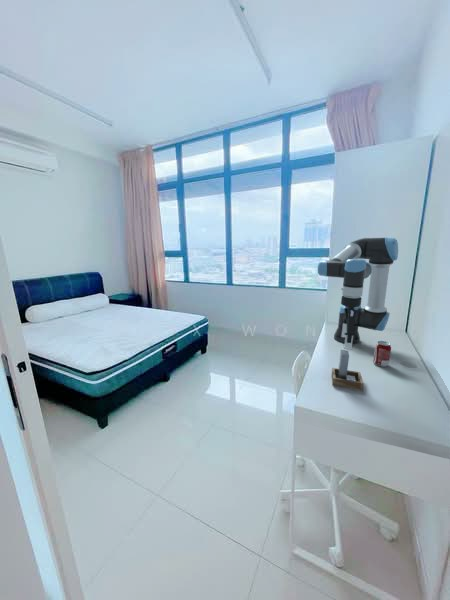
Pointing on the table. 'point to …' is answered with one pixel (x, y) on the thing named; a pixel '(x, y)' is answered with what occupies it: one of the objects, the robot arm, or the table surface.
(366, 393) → the table surface
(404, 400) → the table surface
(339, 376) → the bracket
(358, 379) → the wooden frame
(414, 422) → the table surface
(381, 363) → the soda can
